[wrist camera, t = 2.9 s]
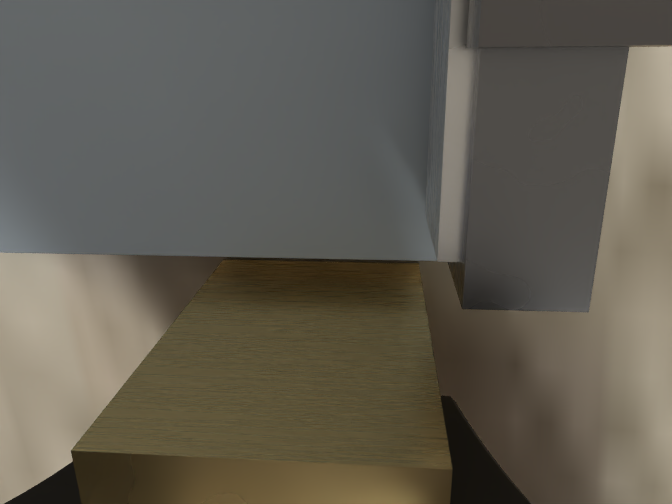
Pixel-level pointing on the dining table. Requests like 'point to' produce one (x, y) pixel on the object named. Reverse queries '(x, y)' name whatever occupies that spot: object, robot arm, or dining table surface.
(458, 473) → the robot arm
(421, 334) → the brass block
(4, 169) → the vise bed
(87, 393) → the dining table surface
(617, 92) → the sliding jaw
